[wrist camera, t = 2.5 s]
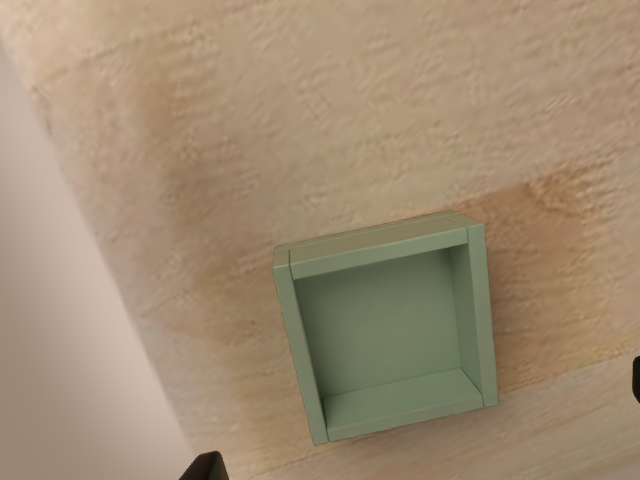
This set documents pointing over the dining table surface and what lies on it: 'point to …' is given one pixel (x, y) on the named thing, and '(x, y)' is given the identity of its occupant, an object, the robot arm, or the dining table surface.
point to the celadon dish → (389, 324)
